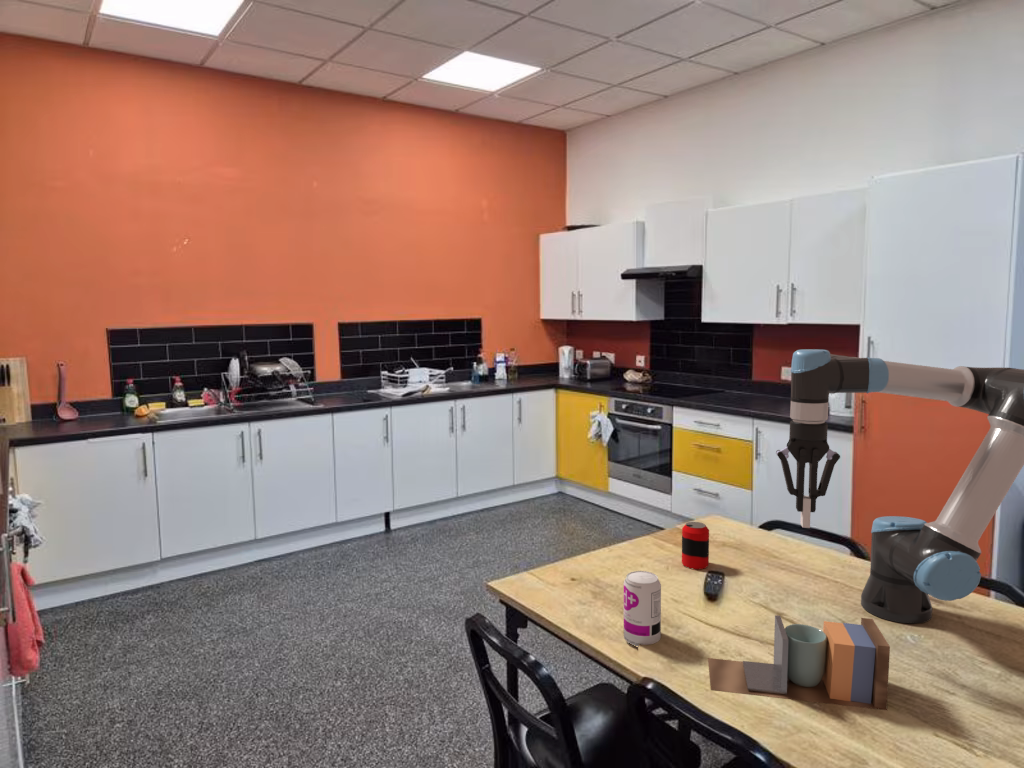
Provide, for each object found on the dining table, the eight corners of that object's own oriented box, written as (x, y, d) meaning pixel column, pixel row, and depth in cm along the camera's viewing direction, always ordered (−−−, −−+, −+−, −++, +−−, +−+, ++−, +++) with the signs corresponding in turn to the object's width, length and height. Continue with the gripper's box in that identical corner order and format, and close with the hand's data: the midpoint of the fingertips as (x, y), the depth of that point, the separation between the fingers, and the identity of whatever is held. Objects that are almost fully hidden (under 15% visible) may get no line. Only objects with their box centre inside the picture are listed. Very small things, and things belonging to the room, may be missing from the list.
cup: (776, 683, 130) (778, 635, 129) (789, 666, 136) (790, 620, 135) (818, 697, 125) (820, 647, 124) (829, 679, 131) (831, 631, 130)
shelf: (868, 680, 132) (871, 617, 131) (887, 716, 121) (890, 647, 119) (707, 663, 140) (708, 603, 138) (710, 695, 128) (711, 630, 127)
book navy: (857, 677, 131) (862, 624, 130) (870, 703, 123) (875, 647, 121) (838, 674, 132) (842, 622, 131) (850, 700, 123) (854, 645, 122)
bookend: (778, 666, 135) (780, 615, 134) (786, 694, 126) (788, 639, 124) (742, 663, 137) (743, 612, 136) (747, 690, 127) (749, 636, 126)
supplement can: (633, 652, 145) (633, 586, 143) (617, 634, 153) (617, 572, 151) (667, 646, 147) (667, 581, 145) (649, 629, 155) (650, 567, 153)
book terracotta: (838, 675, 132) (842, 623, 131) (850, 701, 123) (854, 645, 122) (819, 672, 133) (823, 621, 132) (830, 698, 124) (834, 643, 123)
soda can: (676, 561, 195) (677, 522, 194) (698, 558, 198) (699, 519, 196) (690, 571, 188) (691, 530, 187) (713, 567, 191) (714, 527, 189)
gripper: (837, 418, 146) (833, 522, 148) (774, 417, 149) (771, 518, 151) (845, 424, 138) (841, 533, 141) (779, 422, 141) (776, 529, 144)
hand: (805, 525), depth 146 cm, fingers closed
